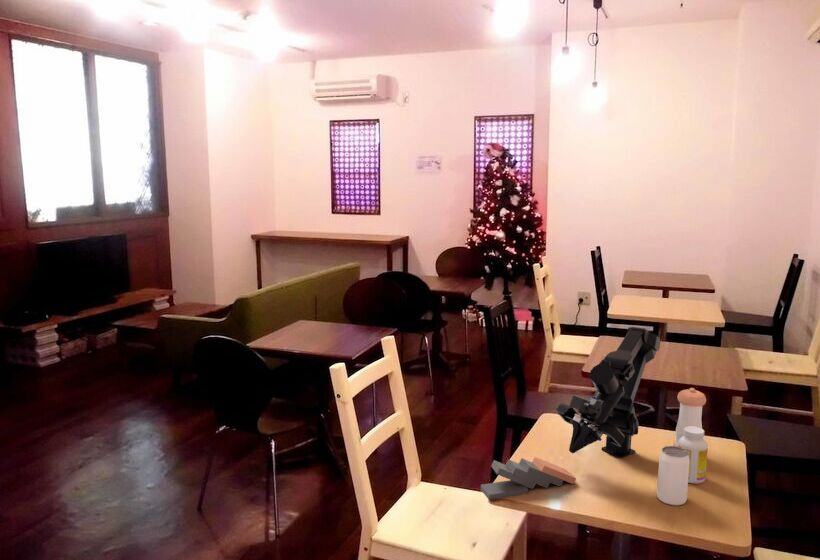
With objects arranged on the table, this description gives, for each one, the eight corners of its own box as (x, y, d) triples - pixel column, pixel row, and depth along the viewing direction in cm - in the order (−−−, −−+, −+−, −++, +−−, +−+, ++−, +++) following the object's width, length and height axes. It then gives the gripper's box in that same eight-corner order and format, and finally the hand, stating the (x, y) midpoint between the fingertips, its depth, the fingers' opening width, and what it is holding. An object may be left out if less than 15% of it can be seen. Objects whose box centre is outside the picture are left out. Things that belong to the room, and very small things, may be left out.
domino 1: (529, 475, 161) (493, 460, 159) (535, 483, 156) (499, 468, 154) (526, 480, 161) (491, 465, 159) (532, 489, 156) (496, 474, 154)
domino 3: (542, 473, 161) (508, 459, 159) (550, 482, 156) (515, 467, 154) (539, 479, 161) (505, 465, 159) (547, 488, 156) (512, 473, 154)
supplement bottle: (703, 474, 164) (707, 426, 162) (706, 486, 158) (710, 436, 155) (675, 470, 166) (678, 422, 164) (676, 482, 160) (680, 433, 158)
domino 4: (554, 471, 162) (521, 457, 159) (563, 480, 157) (529, 466, 155) (551, 477, 162) (518, 463, 160) (560, 486, 157) (526, 472, 155)
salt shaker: (667, 455, 174) (672, 387, 171) (681, 448, 179) (686, 382, 175) (693, 465, 169) (698, 395, 165) (707, 457, 173) (712, 389, 170)
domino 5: (565, 469, 164) (534, 456, 160) (576, 478, 159) (544, 465, 156) (563, 475, 164) (531, 462, 160) (573, 484, 159) (541, 471, 156)
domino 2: (518, 478, 159) (480, 484, 156) (527, 488, 154) (489, 494, 151) (518, 485, 159) (480, 490, 156) (527, 494, 155) (489, 501, 152)
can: (689, 507, 148) (693, 458, 146) (659, 504, 149) (662, 456, 147) (683, 493, 154) (686, 446, 152) (654, 491, 155) (657, 444, 153)
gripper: (561, 373, 168) (528, 422, 164) (619, 394, 152) (583, 449, 149) (582, 396, 174) (550, 444, 170) (639, 419, 158) (606, 473, 154)
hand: (570, 452), depth 160 cm, fingers closed
